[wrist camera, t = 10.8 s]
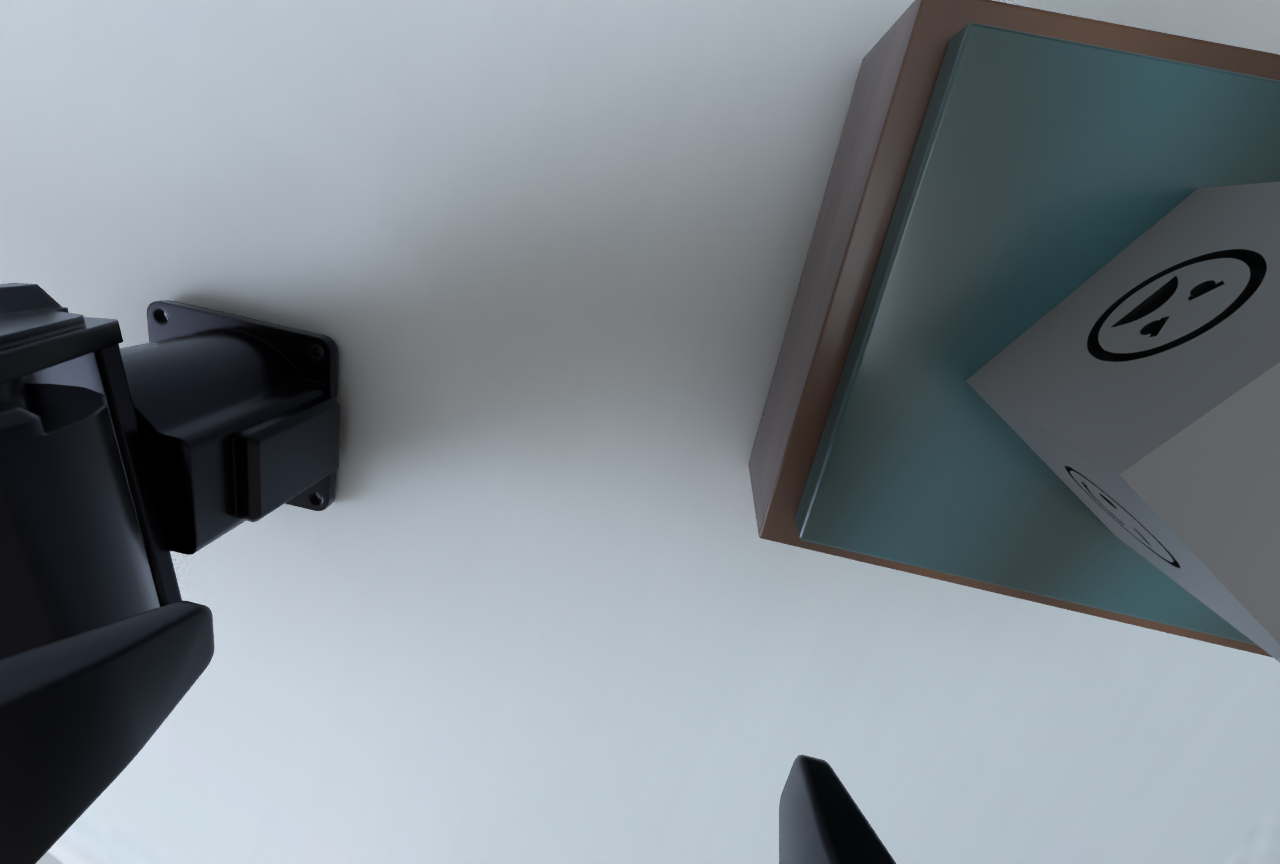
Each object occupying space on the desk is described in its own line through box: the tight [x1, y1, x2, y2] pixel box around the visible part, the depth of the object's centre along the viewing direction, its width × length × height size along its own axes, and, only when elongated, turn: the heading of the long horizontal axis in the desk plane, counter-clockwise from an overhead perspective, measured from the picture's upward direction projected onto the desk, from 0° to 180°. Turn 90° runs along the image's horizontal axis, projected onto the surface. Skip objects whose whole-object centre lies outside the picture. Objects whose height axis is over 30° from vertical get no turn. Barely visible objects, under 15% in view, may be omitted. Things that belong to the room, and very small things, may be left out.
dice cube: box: [966, 182, 1280, 662], centre depth 10 cm, size 5×5×5 cm
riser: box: [749, 0, 1280, 657], centre depth 15 cm, size 13×12×6 cm
